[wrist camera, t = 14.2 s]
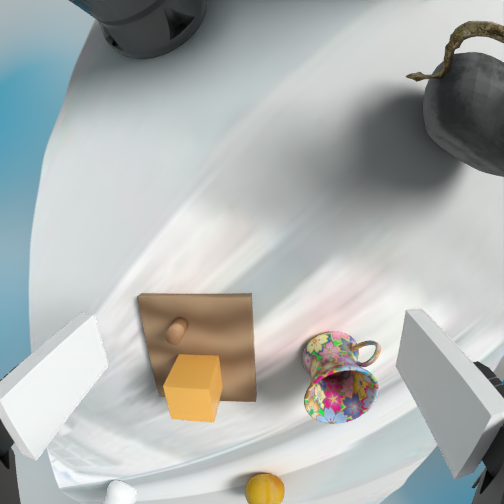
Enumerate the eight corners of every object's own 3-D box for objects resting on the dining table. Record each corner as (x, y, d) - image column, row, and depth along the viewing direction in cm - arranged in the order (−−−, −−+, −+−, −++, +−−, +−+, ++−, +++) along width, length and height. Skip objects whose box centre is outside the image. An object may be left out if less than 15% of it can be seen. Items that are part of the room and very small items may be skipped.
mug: (331, 386, 45) (341, 432, 35) (286, 359, 44) (288, 406, 34) (383, 332, 42) (408, 372, 32) (339, 300, 42) (358, 337, 31)
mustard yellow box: (179, 354, 44) (163, 386, 36) (218, 355, 43) (208, 389, 35) (185, 385, 45) (171, 418, 37) (222, 387, 45) (214, 422, 37)
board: (141, 293, 43) (118, 316, 35) (251, 293, 42) (246, 319, 34) (162, 390, 48) (147, 421, 40) (256, 395, 46) (253, 430, 39)
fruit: (287, 485, 53) (288, 513, 45) (251, 488, 54) (249, 516, 46) (280, 464, 51) (280, 495, 43) (241, 468, 52) (237, 498, 44)
